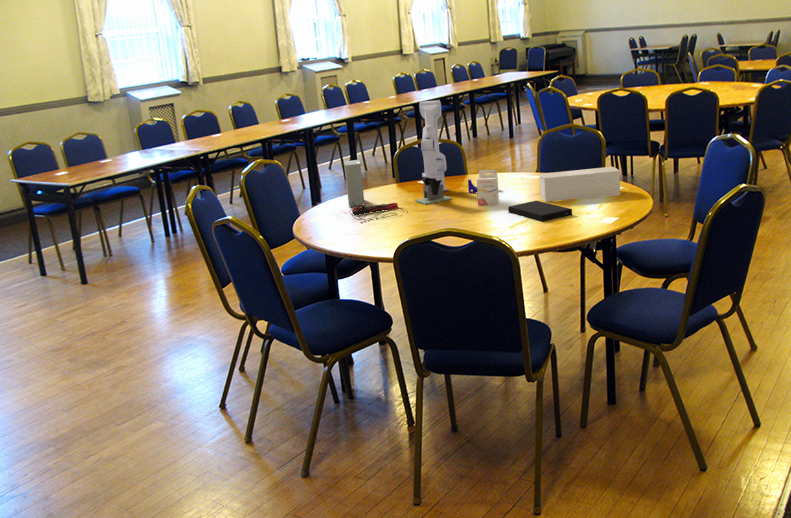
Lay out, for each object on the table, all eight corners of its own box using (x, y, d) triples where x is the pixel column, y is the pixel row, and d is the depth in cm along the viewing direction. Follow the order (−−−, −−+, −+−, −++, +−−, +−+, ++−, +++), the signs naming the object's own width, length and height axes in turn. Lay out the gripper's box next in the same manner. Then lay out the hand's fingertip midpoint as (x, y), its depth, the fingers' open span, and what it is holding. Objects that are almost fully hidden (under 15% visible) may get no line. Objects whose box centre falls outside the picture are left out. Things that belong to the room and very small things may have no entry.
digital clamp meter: (343, 205, 325) (395, 197, 331) (344, 215, 326) (396, 206, 332) (355, 215, 303) (411, 206, 309) (356, 225, 304) (412, 216, 311)
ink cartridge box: (477, 205, 315) (475, 172, 311) (480, 203, 320) (478, 170, 316) (497, 205, 312) (495, 171, 308) (499, 202, 317) (497, 169, 313)
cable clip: (469, 193, 343) (468, 181, 341) (468, 191, 347) (467, 179, 345) (494, 191, 342) (493, 179, 340) (493, 189, 346) (492, 177, 344)
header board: (415, 201, 336) (414, 195, 336) (441, 196, 342) (440, 190, 341) (425, 204, 328) (424, 198, 327) (451, 199, 333) (451, 193, 332)
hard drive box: (365, 205, 339) (360, 163, 334) (349, 207, 339) (343, 165, 333) (364, 199, 354) (359, 159, 349) (348, 201, 354) (343, 160, 348)
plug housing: (423, 198, 335) (423, 185, 333) (438, 195, 338) (438, 183, 336) (428, 199, 331) (427, 186, 329) (443, 197, 334) (443, 184, 332)
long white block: (545, 202, 308) (544, 178, 305) (540, 197, 319) (539, 173, 316) (620, 195, 308) (620, 170, 304) (613, 190, 318) (612, 166, 315)
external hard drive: (537, 207, 303) (536, 200, 302) (572, 216, 282) (572, 208, 281) (508, 213, 297) (508, 206, 296) (542, 223, 277) (542, 215, 276)
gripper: (415, 164, 335) (418, 193, 339) (430, 167, 322) (432, 197, 326) (428, 162, 338) (431, 190, 341) (443, 165, 325) (446, 194, 329)
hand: (432, 194), depth 334 cm, fingers closed on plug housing, 5 cm apart
